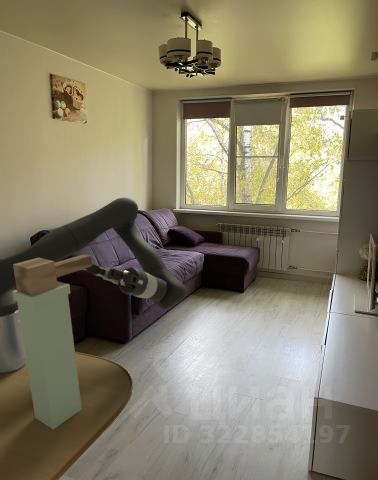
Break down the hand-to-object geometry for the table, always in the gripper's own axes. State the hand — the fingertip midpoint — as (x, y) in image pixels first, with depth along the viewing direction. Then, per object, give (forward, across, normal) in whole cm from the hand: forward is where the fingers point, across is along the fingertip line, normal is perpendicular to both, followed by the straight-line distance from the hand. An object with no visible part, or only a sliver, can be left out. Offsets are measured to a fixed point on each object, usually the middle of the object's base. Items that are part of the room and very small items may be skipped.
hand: (98, 269), depth 94 cm
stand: (-2, 0, +36) cm, 36 cm away
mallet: (+10, 0, +6) cm, 12 cm away
